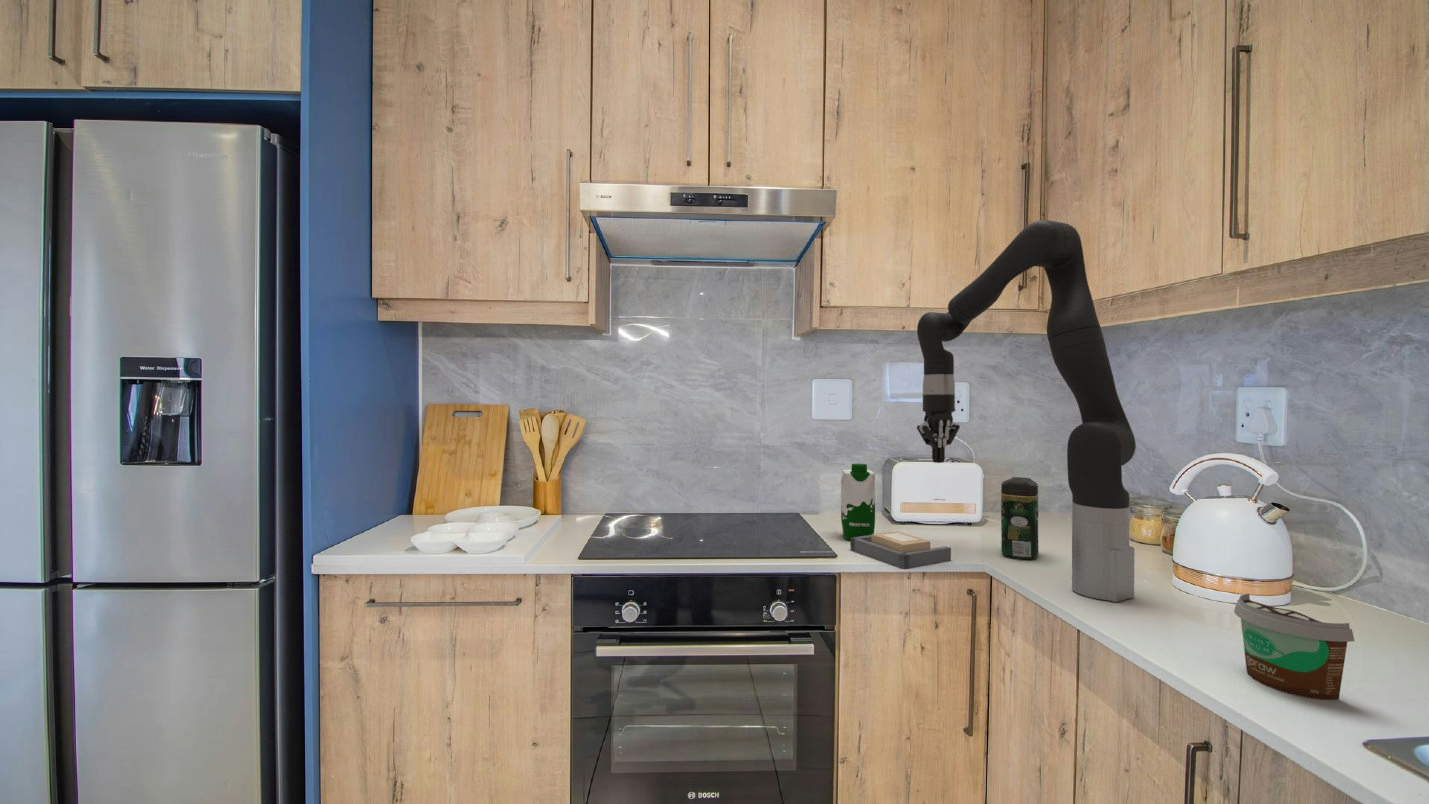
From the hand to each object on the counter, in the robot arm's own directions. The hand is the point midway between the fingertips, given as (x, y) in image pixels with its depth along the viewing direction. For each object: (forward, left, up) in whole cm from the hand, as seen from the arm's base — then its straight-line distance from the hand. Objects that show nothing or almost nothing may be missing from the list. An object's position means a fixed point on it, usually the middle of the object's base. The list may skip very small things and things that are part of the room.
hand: (938, 462), depth 147 cm
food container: (-70, +14, -22) cm, 75 cm away
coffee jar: (-13, -13, -22) cm, 28 cm away
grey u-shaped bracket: (0, +12, -22) cm, 25 cm away
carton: (-2, +15, -22) cm, 26 cm away
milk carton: (+18, +10, -22) cm, 30 cm away
